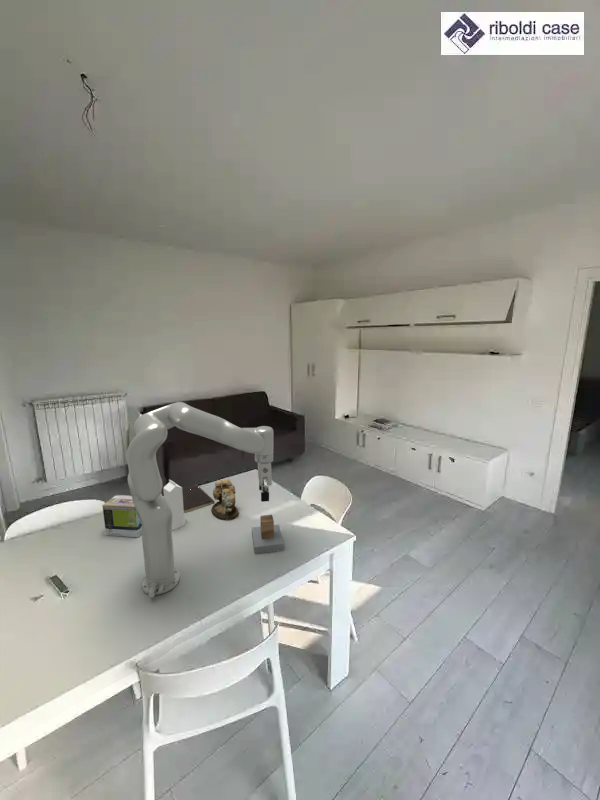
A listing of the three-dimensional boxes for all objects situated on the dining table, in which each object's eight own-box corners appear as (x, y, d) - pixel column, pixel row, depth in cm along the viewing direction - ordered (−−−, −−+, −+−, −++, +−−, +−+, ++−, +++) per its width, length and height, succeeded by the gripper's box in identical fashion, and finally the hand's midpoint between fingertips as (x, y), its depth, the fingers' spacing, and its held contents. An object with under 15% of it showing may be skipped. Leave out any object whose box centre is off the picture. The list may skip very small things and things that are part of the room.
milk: (172, 530, 151) (168, 485, 146) (166, 525, 155) (162, 481, 150) (184, 525, 155) (181, 481, 151) (178, 520, 159) (175, 476, 155)
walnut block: (273, 538, 142) (273, 520, 140) (261, 539, 141) (261, 522, 139) (272, 531, 147) (272, 514, 145) (260, 532, 146) (260, 515, 144)
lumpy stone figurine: (204, 508, 170) (203, 477, 167) (225, 501, 178) (224, 470, 174) (223, 523, 157) (221, 489, 154) (244, 515, 165) (243, 482, 161)
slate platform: (283, 550, 139) (283, 543, 138) (254, 553, 136) (254, 547, 136) (278, 530, 152) (278, 524, 152) (251, 533, 150) (251, 527, 149)
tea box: (150, 525, 155) (147, 495, 152) (137, 538, 145) (134, 507, 142) (119, 522, 156) (116, 493, 153) (105, 535, 147) (101, 504, 144)
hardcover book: (184, 514, 165) (184, 510, 165) (168, 496, 183) (168, 492, 182) (214, 504, 175) (214, 500, 175) (197, 487, 193) (197, 484, 192)
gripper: (275, 464, 130) (275, 505, 133) (270, 448, 146) (270, 485, 150) (256, 465, 128) (256, 506, 132) (253, 449, 145) (253, 486, 148)
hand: (263, 495), depth 141 cm, fingers open, 9 cm apart
